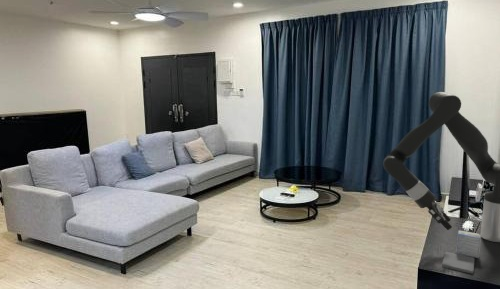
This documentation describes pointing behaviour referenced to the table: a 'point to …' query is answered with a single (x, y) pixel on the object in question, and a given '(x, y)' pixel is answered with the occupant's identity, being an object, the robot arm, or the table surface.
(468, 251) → the medicine box
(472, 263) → the rubber mat
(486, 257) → the table surface
